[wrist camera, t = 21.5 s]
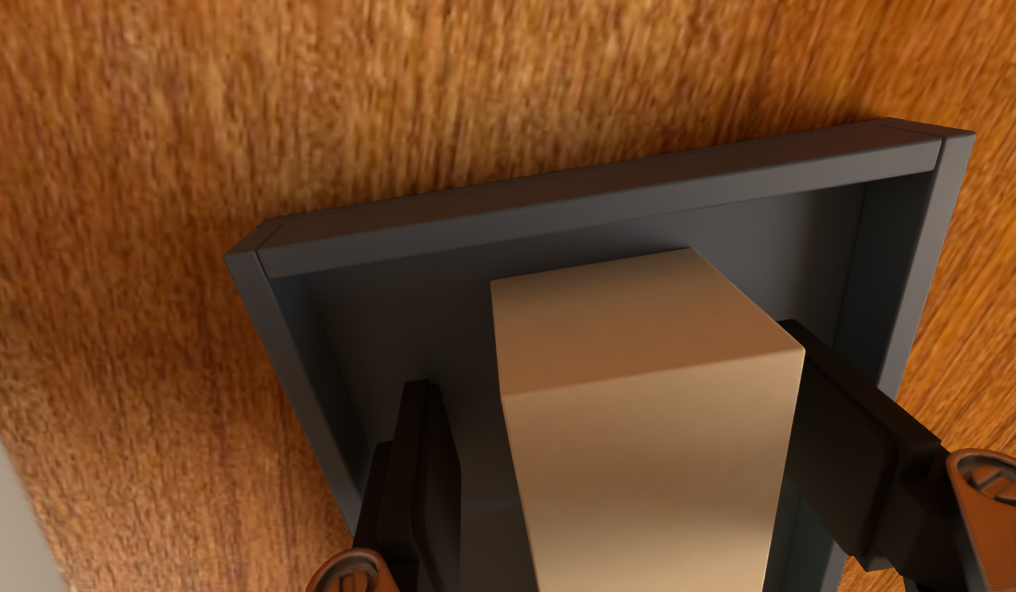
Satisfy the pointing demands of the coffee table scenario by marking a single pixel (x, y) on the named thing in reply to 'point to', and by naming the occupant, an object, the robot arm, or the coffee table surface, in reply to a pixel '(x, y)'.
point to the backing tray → (581, 241)
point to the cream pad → (645, 423)
